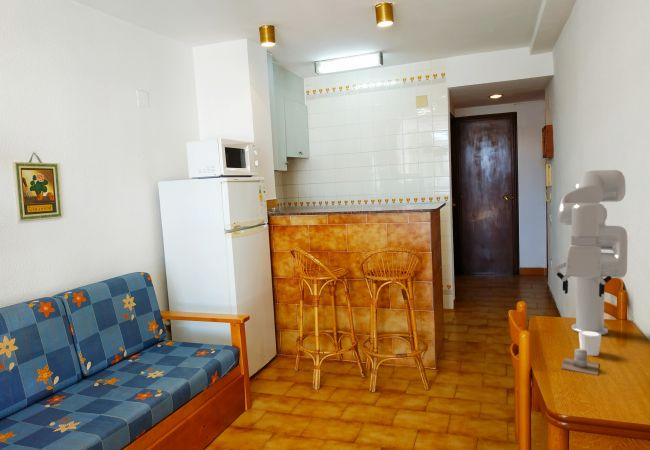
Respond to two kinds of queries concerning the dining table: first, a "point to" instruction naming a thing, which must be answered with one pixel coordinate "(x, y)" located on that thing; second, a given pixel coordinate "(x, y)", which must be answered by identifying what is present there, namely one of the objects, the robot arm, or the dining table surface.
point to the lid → (580, 363)
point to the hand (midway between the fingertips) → (583, 294)
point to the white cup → (590, 342)
